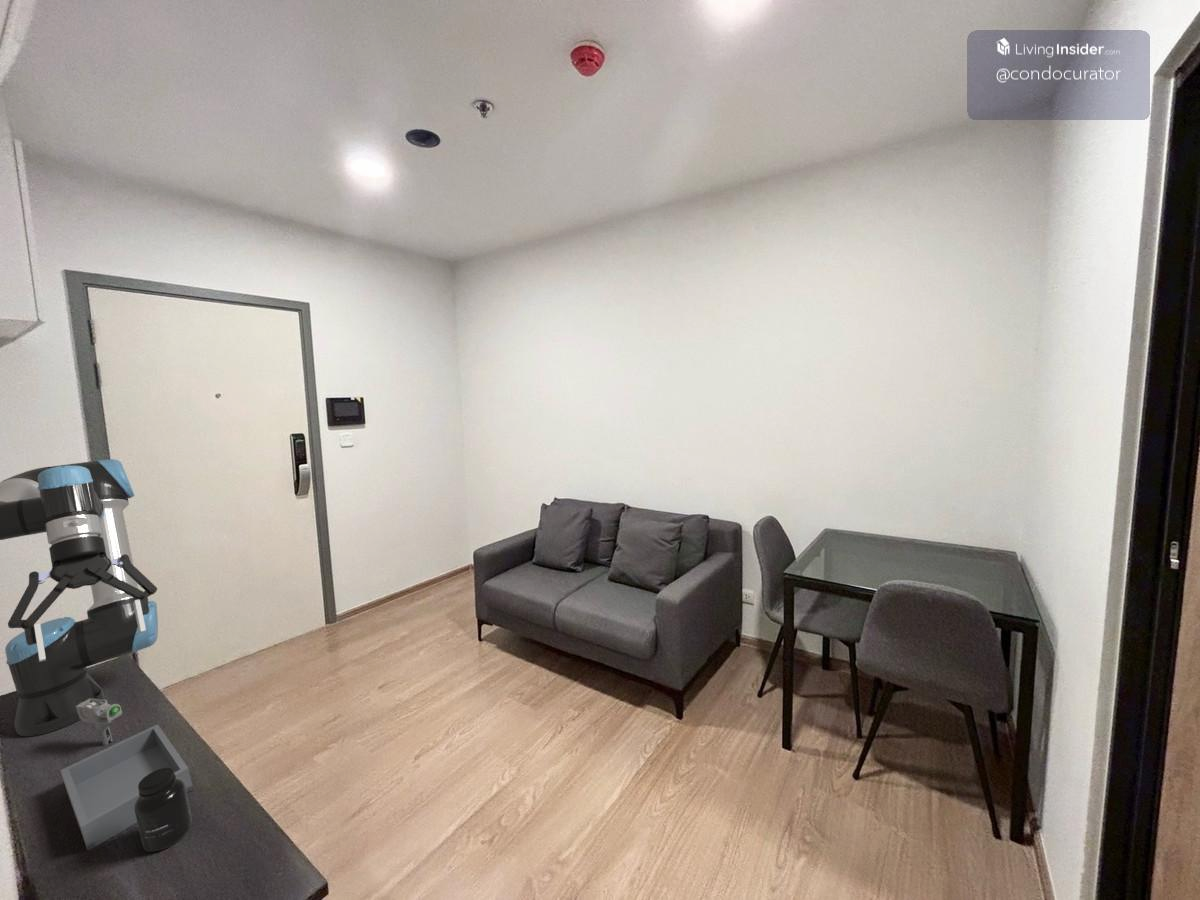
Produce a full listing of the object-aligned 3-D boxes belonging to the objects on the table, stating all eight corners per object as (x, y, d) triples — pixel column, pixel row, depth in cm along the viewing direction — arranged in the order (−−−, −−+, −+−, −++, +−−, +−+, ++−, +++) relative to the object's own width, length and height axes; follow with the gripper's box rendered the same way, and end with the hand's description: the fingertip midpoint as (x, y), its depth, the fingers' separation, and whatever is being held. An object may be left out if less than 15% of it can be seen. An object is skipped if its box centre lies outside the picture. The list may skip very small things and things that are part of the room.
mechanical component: (117, 750, 110) (107, 710, 108) (82, 745, 112) (72, 706, 110) (132, 740, 113) (122, 701, 111) (98, 735, 115) (88, 697, 113)
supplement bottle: (152, 860, 84) (136, 801, 82) (137, 842, 88) (122, 784, 86) (200, 828, 90) (186, 771, 88) (185, 811, 94) (171, 756, 91)
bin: (66, 791, 100) (60, 770, 99) (162, 743, 111) (157, 724, 110) (87, 851, 87) (80, 827, 86) (193, 789, 98) (188, 768, 97)
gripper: (-25, 552, 87) (-8, 672, 83) (161, 522, 106) (181, 618, 103) (-22, 562, 91) (-6, 676, 88) (155, 532, 111) (175, 624, 107)
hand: (95, 645), depth 95 cm, fingers open, 13 cm apart
